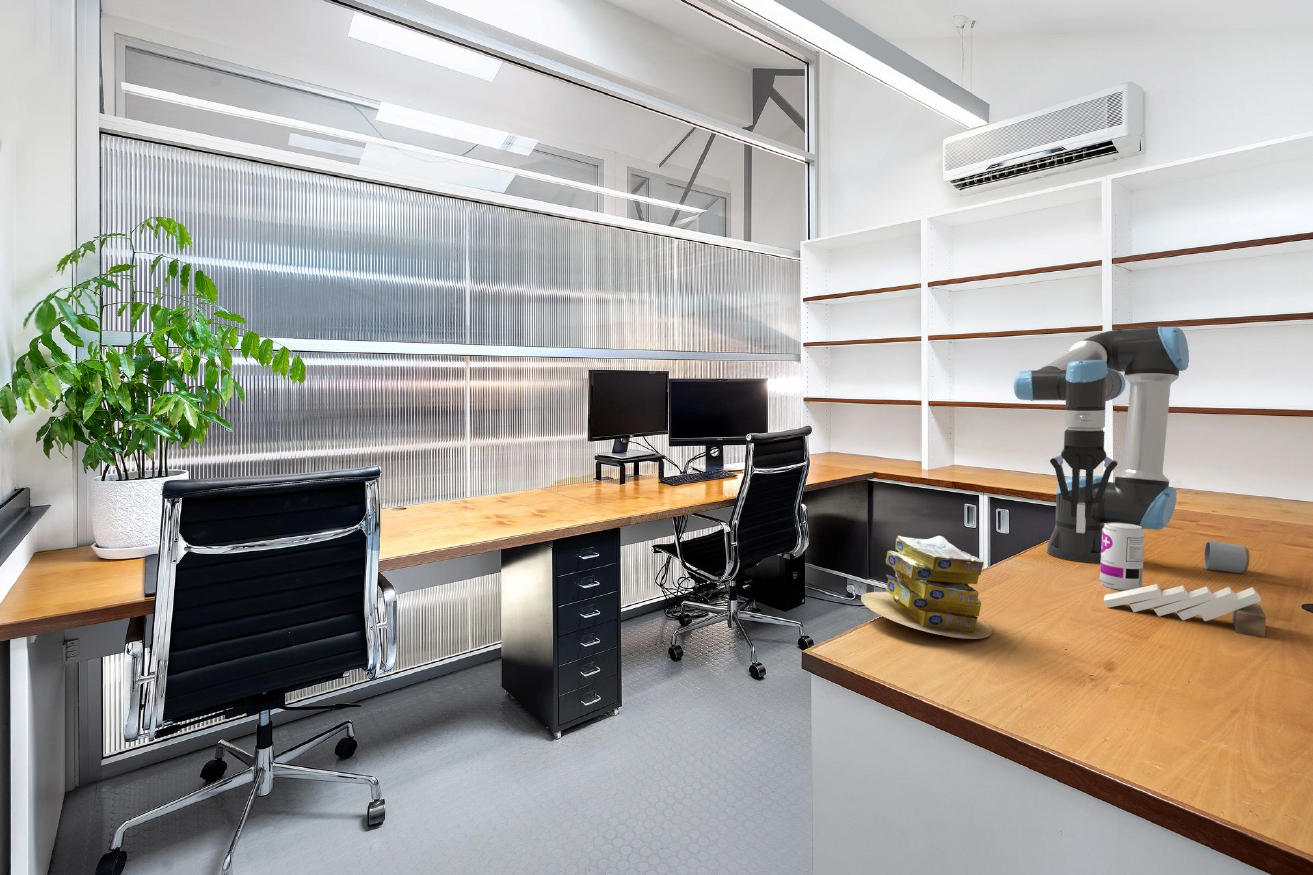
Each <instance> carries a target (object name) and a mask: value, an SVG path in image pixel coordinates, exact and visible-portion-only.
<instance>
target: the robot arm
mask: <svg viewBox="0 0 1313 875" xmlns="http://www.w3.org/2000/svg"><path fill="white" fill-rule="evenodd" d="M1189 352H1190V351H1189V345H1188V340H1187V338H1186V335H1185V333H1184V331H1183V329H1182V328H1180V327H1179V326H1178V327H1177V326H1152V327H1142V328H1141V327H1140V328H1129V329H1128V328H1127V329H1113V330H1108V331H1103V332H1100V333H1097V334H1093V335H1092V336H1089V337H1087V338H1084V339H1082V340H1080V341H1078V342H1076V343H1075V344H1074V345H1072V346H1071V347H1070V348H1069V350H1068V352H1067V353H1065V354H1063V355H1062V356H1060V357H1058V358H1056V359H1055V360H1054V361H1051V362H1049V363H1048V364H1046V365H1044V366H1043V367H1041V368H1039V369H1037V370H1034V369H1033V370H1032V369H1028V370H1021V371H1019V372H1018V373H1017V374H1016V375H1015V376H1014V381H1013V392H1014V395H1015V397H1016V398H1017V399H1018V400H1022V401H1031V402H1034V401H1065V408H1064V409H1065V410H1064V427H1065V428H1066V429H1065V430H1064V432H1063V433H1064V436H1063V437H1064V439H1063V449H1062V450H1061V453H1060V454H1059V455H1058V456H1056V457H1052V458H1051V459H1049V462H1050V464H1051V466H1052V467H1053V468H1054V471H1055V474H1056V480H1057V486H1056V488H1057V489H1056V492H1055V495H1056V496H1055V497H1056V501H1055V527H1054V529H1053V531H1052V534H1051V536H1050V538H1049V541H1048V543H1047V548H1046V549H1047V550H1046V552H1047V554H1048V555H1050V556H1052V557H1055V558H1059V559H1062V560H1068V561H1069V560H1070V561H1075V562H1080V563H1081V562H1082V563H1101V545H1102V529H1103V528H1104V527H1105V524H1106V523H1126V524H1133V525H1138V526H1141V527H1142V530H1152V531H1159V530H1163V529H1165V528H1166V527H1167V526H1168V524H1170V521H1171V519H1172V518H1173V514H1174V511H1175V509H1176V504H1177V494H1178V493H1177V490H1176V488H1174V487H1173V486H1170V480H1169V479H1168V477H1166V476H1165V475H1164V472H1163V470H1164V461H1165V460H1164V459H1165V450H1166V441H1167V440H1166V438H1167V428H1168V420H1169V419H1168V417H1169V407H1170V406H1169V405H1170V398H1171V397H1170V396H1171V394H1170V393H1171V385H1172V384H1173V383H1174V382H1175V381H1177V380H1178V379H1179V377H1180V376H1179V375H1180V372H1183V371H1186V370H1187V369H1188V367H1189V362H1190V354H1189ZM1123 372H1124V376H1123V374H1122V373H1123ZM1126 380H1127V381H1128V383H1130V384H1129V394H1128V396H1129V397H1128V405H1127V406H1128V409H1127V419H1126V427H1125V428H1126V431H1125V440H1124V451H1123V462H1122V470H1121V471H1120V472H1119V473H1117V474H1115V476H1114V481H1113V482H1111V481H1109V480H1110V477H1111V474H1112V472H1113V471H1114V470H1115V468H1116V467H1117V466H1118V465H1119V464H1118V461H1117V460H1115V459H1114V460H1113V459H1112V458H1110V457H1109V456H1107V452H1106V451H1105V435H1106V434H1105V433H1106V432H1105V431H1104V430H1102V429H1104V428H1105V427H1106V402H1109V401H1110V400H1113V399H1116V398H1118V397H1120V395H1122V394H1123V392H1124V391H1125V388H1126V384H1127V383H1126ZM1064 461H1065V462H1066V463H1067V465H1068V466H1069V467H1070V468H1071V471H1072V472H1071V475H1072V476H1065V472H1064V469H1063V464H1064ZM1103 462H1104V463H1103ZM1101 463H1103V467H1104V468H1105V470H1104V471H1103V473H1102V475H1094V470H1096V468H1098V467H1099V465H1101ZM1082 470H1084V471H1085V475H1080V473H1081V471H1082Z"/></svg>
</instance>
